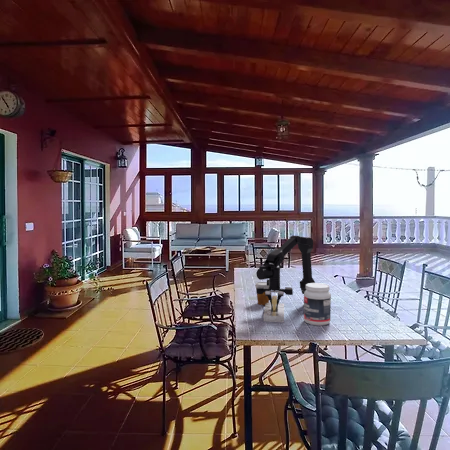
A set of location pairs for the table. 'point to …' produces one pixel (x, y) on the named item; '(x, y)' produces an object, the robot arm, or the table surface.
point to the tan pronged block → (274, 302)
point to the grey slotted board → (274, 313)
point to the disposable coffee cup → (261, 297)
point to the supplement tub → (317, 304)
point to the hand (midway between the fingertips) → (274, 306)
